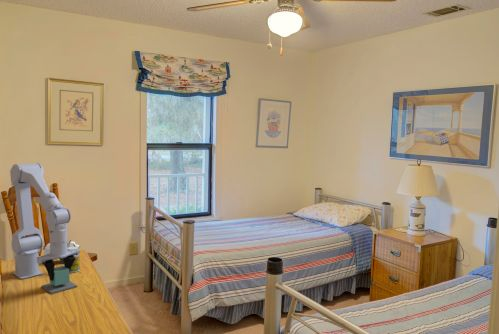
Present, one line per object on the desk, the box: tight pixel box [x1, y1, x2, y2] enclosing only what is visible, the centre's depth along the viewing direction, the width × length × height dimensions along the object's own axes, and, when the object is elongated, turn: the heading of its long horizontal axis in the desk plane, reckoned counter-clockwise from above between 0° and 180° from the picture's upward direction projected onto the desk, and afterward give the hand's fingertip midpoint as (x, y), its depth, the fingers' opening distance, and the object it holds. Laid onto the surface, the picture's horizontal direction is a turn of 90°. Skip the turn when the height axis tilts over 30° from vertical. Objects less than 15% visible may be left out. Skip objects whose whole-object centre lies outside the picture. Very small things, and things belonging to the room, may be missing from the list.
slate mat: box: [41, 280, 78, 295], centre depth 145 cm, size 9×9×1 cm
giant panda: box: [42, 239, 81, 265], centre depth 171 cm, size 15×6×10 cm, turn 105°
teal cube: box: [48, 265, 70, 286], centre depth 144 cm, size 5×5×5 cm
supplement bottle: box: [67, 247, 81, 274], centre depth 161 cm, size 5×5×10 cm
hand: (59, 278), depth 144 cm, fingers closed on teal cube, 5 cm apart
